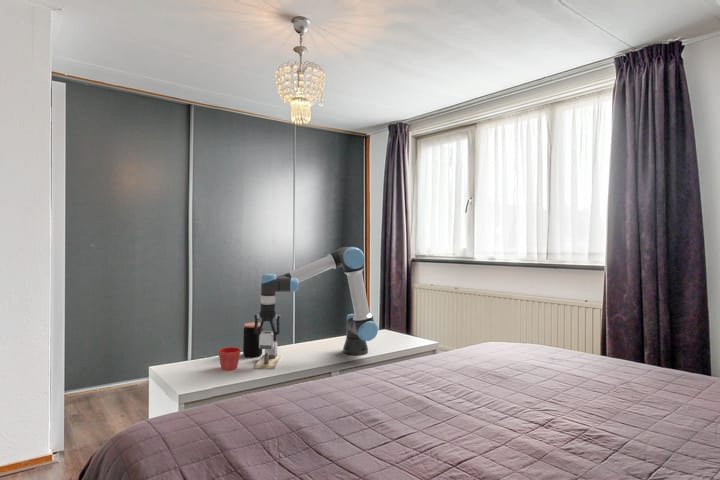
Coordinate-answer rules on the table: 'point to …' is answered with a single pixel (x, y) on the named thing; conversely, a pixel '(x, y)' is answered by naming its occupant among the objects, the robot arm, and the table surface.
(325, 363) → the table surface
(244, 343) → the coffee jar
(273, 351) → the sleeve
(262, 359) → the pin board
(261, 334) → the sleeve
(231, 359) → the flower pot
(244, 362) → the table surface
